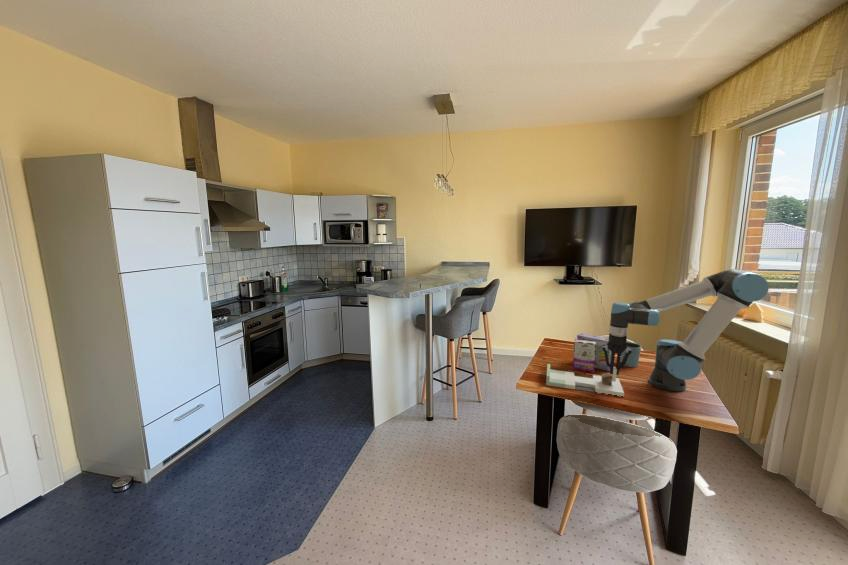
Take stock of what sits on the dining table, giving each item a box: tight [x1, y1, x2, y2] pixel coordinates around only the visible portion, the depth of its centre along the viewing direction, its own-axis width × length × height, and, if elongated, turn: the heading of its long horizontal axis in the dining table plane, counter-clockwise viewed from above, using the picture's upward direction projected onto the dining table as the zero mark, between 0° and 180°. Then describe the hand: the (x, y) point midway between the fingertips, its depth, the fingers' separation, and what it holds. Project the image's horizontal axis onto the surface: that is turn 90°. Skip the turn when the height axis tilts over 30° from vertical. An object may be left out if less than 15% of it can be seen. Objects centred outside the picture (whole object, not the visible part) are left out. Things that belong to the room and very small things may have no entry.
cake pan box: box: [576, 332, 611, 372], centre depth 194 cm, size 19×5×18 cm, turn 42°
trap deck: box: [545, 363, 625, 398], centre depth 173 cm, size 34×16×5 cm, turn 69°
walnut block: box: [601, 373, 612, 386], centre depth 169 cm, size 4×4×4 cm
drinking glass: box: [620, 341, 642, 368], centre depth 197 cm, size 10×10×12 cm
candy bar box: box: [572, 338, 596, 373], centre depth 190 cm, size 11×5×16 cm, turn 62°
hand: (613, 380), depth 168 cm, fingers closed
